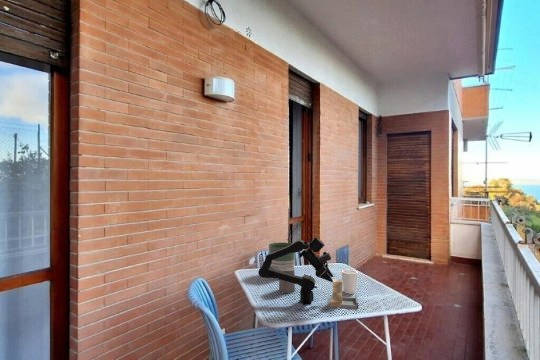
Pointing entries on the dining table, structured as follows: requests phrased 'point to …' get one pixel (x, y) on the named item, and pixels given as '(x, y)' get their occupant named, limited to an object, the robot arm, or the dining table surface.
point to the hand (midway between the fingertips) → (332, 279)
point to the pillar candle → (284, 285)
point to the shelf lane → (345, 302)
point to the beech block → (337, 291)
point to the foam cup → (349, 281)
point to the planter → (284, 260)
